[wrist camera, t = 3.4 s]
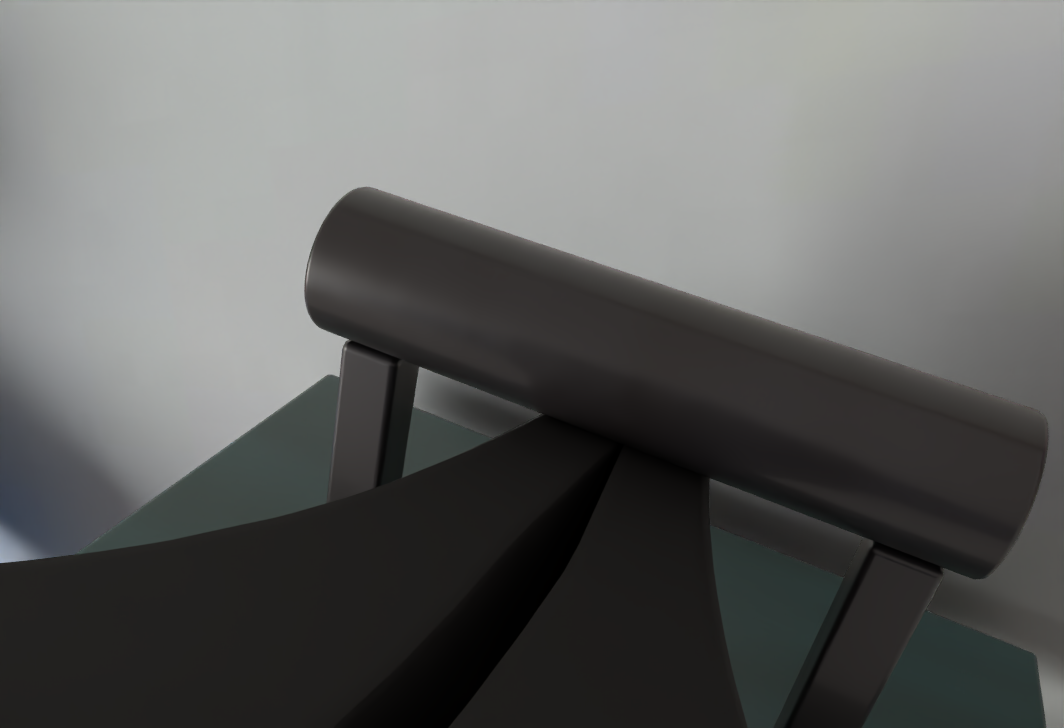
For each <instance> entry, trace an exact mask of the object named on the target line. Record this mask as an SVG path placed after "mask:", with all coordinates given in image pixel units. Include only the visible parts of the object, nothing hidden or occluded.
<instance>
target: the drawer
mask: <svg viewBox="0 0 1064 728" xmlns="http://www.w3.org/2000/svg"><path fill="white" fill-rule="evenodd" d="M305 302H306V307H307V311H308V313H309V316H310V318H311V319H312V320H313V322H314V323H315V324H316V325H317V326H318V327H319V328H321V329H323V330H326V331H328V332H331V333H334V334H336V335H339V336H341V337H344V338H347V339H349V340H348V341H346V343H345V344H344V346H343V349H342V358H341V368H340V377H337V376H334V375H327V376H325V377H324V378H323V379H321V380H320V381H318V382H317V383H316V384H314V385H313V386H311V387H310V388H308V389H307V390H306V391H304V392H303V393H301V394H300V395H299V396H297V397H296V398H294V399H293V400H292V401H290V402H289V403H287V404H286V405H285V406H283V407H282V408H280V409H279V410H278V411H276V412H275V413H273V414H272V415H270V416H269V417H268V418H266V419H265V420H263V421H262V422H261V423H259V424H258V425H256V426H255V427H254V428H252V429H251V430H249V431H248V432H247V433H245V434H244V435H242V436H241V437H240V438H238V439H237V440H235V441H234V442H233V443H231V444H230V445H228V446H227V447H225V448H224V449H223V450H221V451H220V452H218V453H217V454H216V455H214V456H213V457H211V458H210V459H209V460H207V461H206V462H204V463H203V464H202V465H200V466H199V467H197V468H196V469H195V470H193V471H192V472H190V473H189V474H187V475H186V476H185V477H183V478H182V479H180V480H179V481H178V482H176V483H175V484H173V485H172V486H171V487H169V488H168V489H166V490H165V491H164V492H162V493H161V494H159V495H158V496H157V497H155V498H154V499H152V500H151V501H149V502H148V503H147V504H145V505H144V506H142V507H141V508H140V509H138V510H137V511H135V512H134V513H133V514H131V515H130V516H128V517H127V518H126V519H124V520H123V521H121V522H120V523H119V524H117V525H116V526H114V527H113V528H112V529H110V530H109V531H107V532H106V533H104V534H103V535H102V536H100V537H99V538H97V539H96V540H95V541H93V542H92V543H90V544H89V545H88V546H86V547H85V548H83V549H82V550H81V551H79V552H78V553H76V554H84V553H92V552H99V551H105V550H112V549H118V548H125V547H131V546H138V545H144V544H150V543H156V542H162V541H168V540H173V539H178V538H182V537H187V536H192V535H196V534H201V533H205V532H210V531H215V530H219V529H224V528H229V527H233V526H238V525H243V524H247V523H252V522H257V521H261V520H266V519H271V518H275V517H279V516H283V515H287V514H290V513H294V512H298V511H301V510H305V509H308V508H312V507H315V506H318V505H322V504H325V503H329V502H332V501H336V500H339V499H342V498H346V497H349V496H352V495H355V494H358V493H361V492H364V491H367V490H370V489H373V488H376V487H379V486H382V485H385V484H387V483H390V482H393V481H395V480H397V479H400V478H402V477H405V476H407V475H410V474H412V473H415V472H417V471H420V470H422V469H425V468H427V467H430V466H432V465H435V464H437V463H440V462H442V461H445V460H447V459H449V458H452V457H454V456H456V455H459V454H461V453H463V452H465V451H467V450H469V449H472V448H474V447H476V446H478V445H480V444H482V443H484V442H486V441H489V440H491V439H493V438H491V437H488V436H485V435H483V434H480V433H478V432H475V431H473V430H470V429H468V428H465V427H463V426H460V425H458V424H455V423H453V422H450V421H448V420H445V419H443V418H440V417H438V416H435V415H433V414H430V413H428V412H425V411H423V410H420V409H417V408H415V407H413V403H414V396H415V389H416V383H417V376H418V370H419V366H420V367H422V368H425V369H427V370H430V371H433V372H435V373H438V374H440V375H443V376H446V377H448V378H451V379H453V380H456V381H459V382H461V383H464V384H466V385H469V386H472V387H474V388H477V389H479V390H482V391H485V392H487V393H490V394H493V395H495V396H498V397H500V398H503V399H506V400H508V401H511V402H513V403H516V404H519V405H521V406H524V407H526V408H529V409H532V410H534V411H537V412H539V413H542V414H545V415H547V416H550V417H552V418H555V419H558V420H560V421H563V422H565V423H568V424H571V425H573V426H576V427H578V428H581V429H584V430H586V431H589V432H591V433H594V434H597V435H599V436H602V437H604V438H607V439H610V440H612V441H615V442H618V443H620V444H623V445H625V446H628V447H631V448H633V449H636V450H638V451H641V452H644V453H646V454H649V455H651V456H654V457H657V458H659V459H662V460H664V461H667V462H670V463H672V464H675V465H677V466H680V467H683V468H685V469H688V470H690V471H693V472H696V473H698V474H701V475H703V476H706V477H709V478H711V479H714V480H716V481H719V482H722V483H724V484H727V485H729V486H732V487H735V488H737V489H740V490H743V491H745V492H748V493H750V494H753V495H756V496H758V497H761V498H763V499H766V500H769V501H771V502H774V503H776V504H779V505H782V506H784V507H787V508H789V509H792V510H795V511H797V512H800V513H802V514H805V515H808V516H810V517H813V518H815V519H818V520H821V521H823V522H826V523H828V524H831V525H834V526H836V527H839V528H841V529H844V530H847V531H849V532H852V533H854V534H857V535H860V536H862V537H863V538H862V540H861V542H860V544H859V547H858V549H857V551H856V553H855V555H854V557H853V559H852V561H851V564H850V566H849V568H848V570H847V572H846V574H845V576H844V578H843V577H841V576H838V575H836V574H833V573H831V572H828V571H826V570H823V569H820V568H818V567H815V566H813V565H810V564H808V563H805V562H803V561H800V560H798V559H795V558H793V557H790V556H788V555H785V554H783V553H780V552H778V551H775V550H773V549H770V548H768V547H765V546H763V545H760V544H758V543H755V542H752V541H750V540H747V539H745V538H742V537H740V536H737V535H735V534H732V533H730V532H727V531H725V530H722V529H720V528H717V527H715V526H712V525H710V532H711V543H712V554H713V565H714V574H715V581H716V588H717V595H718V601H719V606H720V612H721V618H722V623H723V629H724V634H725V639H726V644H727V649H728V653H729V658H730V662H731V666H732V671H733V675H734V679H735V683H736V687H737V691H738V694H739V698H740V701H741V705H742V709H743V712H744V716H745V720H746V723H747V727H748V728H1046V721H1045V714H1044V707H1043V700H1042V693H1041V686H1040V679H1039V672H1038V665H1037V658H1036V656H1035V655H1034V654H1033V653H1032V652H1030V651H1027V650H1024V649H1022V648H1019V647H1017V646H1014V645H1012V644H1009V643H1007V642H1004V641H1002V640H999V639H997V638H994V637H992V636H989V635H987V634H984V633H982V632H979V631H977V630H974V629H972V628H969V627H967V626H964V625H962V624H959V623H956V622H954V621H951V620H949V619H946V618H944V617H941V616H939V615H936V614H934V613H931V612H929V611H926V609H927V607H928V605H929V603H930V601H931V600H932V598H933V596H934V594H935V592H936V590H937V588H938V587H939V585H940V583H941V581H942V579H943V568H946V569H948V570H951V571H953V572H956V573H959V574H961V575H964V576H966V577H969V578H972V579H984V578H986V577H988V576H989V575H990V574H992V573H993V572H994V571H995V570H996V569H997V568H998V566H999V565H1000V564H1001V563H1002V561H1003V560H1004V559H1005V558H1006V556H1007V555H1008V553H1009V552H1010V550H1011V549H1012V547H1013V545H1014V544H1015V542H1016V540H1017V538H1018V537H1019V535H1020V533H1021V531H1022V529H1023V527H1024V525H1025V523H1026V520H1027V518H1028V516H1029V513H1030V511H1031V509H1032V506H1033V503H1034V501H1035V498H1036V495H1037V492H1038V489H1039V486H1040V483H1041V479H1042V475H1043V472H1044V468H1045V463H1046V457H1047V450H1048V437H1049V435H1048V423H1047V420H1046V418H1045V416H1044V415H1043V414H1042V413H1041V412H1039V411H1038V410H1035V409H1032V408H1029V407H1027V406H1024V405H1021V404H1018V403H1015V402H1012V401H1009V400H1006V399H1003V398H1000V397H997V396H994V395H991V394H988V393H985V392H982V391H979V390H976V389H973V388H970V387H967V386H964V385H961V384H958V383H955V382H952V381H949V380H946V379H943V378H940V377H937V376H934V375H931V374H928V373H925V372H922V371H919V370H916V369H913V368H910V367H907V366H904V365H901V364H898V363H895V362H892V361H889V360H886V359H883V358H880V357H877V356H874V355H871V354H868V353H865V352H862V351H859V350H856V349H853V348H850V347H847V346H844V345H841V344H838V343H835V342H832V341H829V340H826V339H823V338H820V337H817V336H814V335H811V334H808V333H805V332H802V331H799V330H796V329H793V328H790V327H787V326H784V325H781V324H778V323H775V322H772V321H769V320H766V319H763V318H760V317H757V316H754V315H751V314H748V313H745V312H742V311H739V310H736V309H733V308H730V307H727V306H724V305H722V304H719V303H716V302H713V301H710V300H707V299H704V298H701V297H698V296H695V295H692V294H689V293H686V292H683V291H680V290H677V289H674V288H671V287H668V286H665V285H662V284H659V283H656V282H653V281H650V280H647V279H644V278H641V277H638V276H635V275H632V274H629V273H626V272H623V271H620V270H617V269H614V268H611V267H608V266H605V265H602V264H599V263H596V262H593V261H590V260H587V259H584V258H581V257H578V256H575V255H572V254H569V253H566V252H563V251H560V250H557V249H554V248H551V247H548V246H545V245H542V244H539V243H536V242H533V241H530V240H527V239H524V238H521V237H518V236H515V235H512V234H509V233H506V232H503V231H500V230H497V229H494V228H491V227H488V226H485V225H482V224H479V223H476V222H473V221H470V220H467V219H464V218H461V217H458V216H455V215H452V214H449V213H446V212H443V211H440V210H437V209H434V208H431V207H428V206H425V205H422V204H419V203H417V202H414V201H411V200H408V199H405V198H402V197H399V196H396V195H393V194H390V193H387V192H384V191H381V190H378V189H375V188H371V187H361V188H357V189H354V190H352V191H350V192H349V193H347V194H346V195H345V196H343V197H342V198H341V199H340V200H339V201H338V202H337V203H336V205H335V206H334V207H333V208H332V209H331V211H330V212H329V214H328V215H327V217H326V218H325V220H324V222H323V224H322V225H321V227H320V229H319V232H318V234H317V236H316V238H315V241H314V243H313V246H312V249H311V252H310V256H309V260H308V264H307V269H306V276H305ZM76 554H75V555H76Z"/></svg>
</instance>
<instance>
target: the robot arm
mask: <svg viewBox="0 0 1064 728" xmlns="http://www.w3.org/2000/svg"><path fill="white" fill-rule="evenodd" d="M709 479H710V478H709V477H706V476H703V475H701V474H698V473H696V472H693V471H690V470H688V469H685V468H683V467H680V466H677V465H675V464H672V463H670V462H667V461H664V460H662V459H659V458H657V457H654V456H651V455H649V454H646V453H644V452H641V451H638V450H636V449H633V448H631V447H628V446H625V445H623V444H620V443H618V442H615V441H612V440H610V439H607V438H604V437H602V436H599V435H597V434H594V433H591V432H589V431H586V430H584V429H581V428H578V427H576V426H573V425H571V424H568V423H565V422H563V421H560V420H558V419H555V418H552V417H550V416H547V415H545V414H541V415H539V416H537V417H535V418H533V419H532V420H530V421H528V422H526V423H524V424H522V425H520V426H518V427H516V428H514V429H512V430H510V431H508V432H505V433H503V434H501V435H499V436H497V437H495V438H493V439H491V440H489V441H486V442H484V443H482V444H480V445H478V446H476V447H474V448H472V449H469V450H467V451H465V452H463V453H461V454H459V455H456V456H454V457H452V458H449V459H447V460H445V461H442V462H440V463H437V464H435V465H432V466H430V467H427V468H425V469H422V470H420V471H417V472H415V473H412V474H410V475H407V476H405V477H402V478H400V479H397V480H395V481H393V482H390V483H387V484H385V485H382V486H379V487H376V488H373V489H370V490H367V491H364V492H361V493H358V494H355V495H352V496H349V497H346V498H342V499H339V500H336V501H332V502H329V503H325V504H322V505H318V506H315V507H312V508H308V509H305V510H301V511H298V512H294V513H290V514H287V515H283V516H279V517H275V518H271V519H266V520H261V521H257V522H252V523H247V524H243V525H238V526H233V527H229V528H224V529H219V530H215V531H210V532H205V533H201V534H196V535H192V536H187V537H182V538H178V539H173V540H168V541H162V542H156V543H150V544H144V545H138V546H131V547H125V548H118V549H112V550H105V551H99V552H92V553H84V554H76V555H68V556H60V557H52V558H44V559H36V560H28V561H18V562H9V563H0V728H748V727H747V723H746V720H745V716H744V712H743V709H742V705H741V701H740V698H739V694H738V691H737V687H736V683H735V679H734V675H733V671H732V666H731V662H730V658H729V653H728V649H727V644H726V639H725V634H724V629H723V623H722V618H721V612H720V606H719V601H718V595H717V588H716V581H715V574H714V565H713V554H712V543H711V532H710V518H709Z"/></svg>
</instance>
